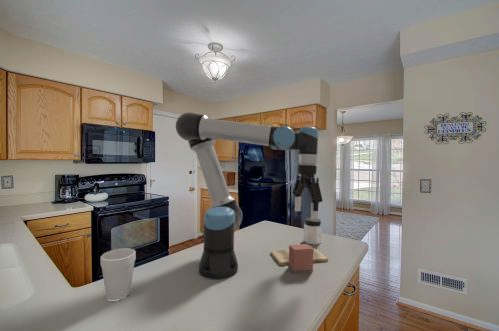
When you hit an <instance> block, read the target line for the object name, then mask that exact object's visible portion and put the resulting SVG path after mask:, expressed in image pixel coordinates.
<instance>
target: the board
mask: <svg viewBox="0 0 499 331" xmlns="http://www.w3.org/2000/svg"><path fill="white" fill-rule="evenodd" d="M312 248H313V263H323V262H329V258H328V257H327V256H326V255H324V254H323V253H321V251H319V250H318V249H317V248H315V247H312ZM270 255H271V256H272V257H273V259H274V260H275V261H276V262H277V264H278V265H279V266H287V265H288V266H289V249H284V250H281V249H280V250H271V251H270Z"/></svg>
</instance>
